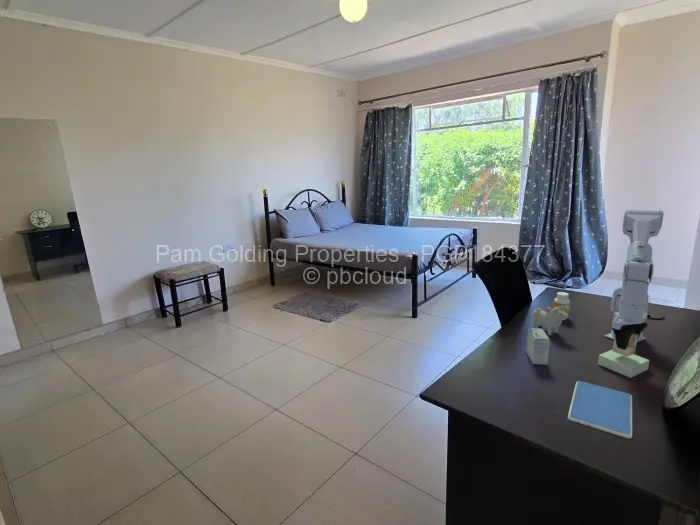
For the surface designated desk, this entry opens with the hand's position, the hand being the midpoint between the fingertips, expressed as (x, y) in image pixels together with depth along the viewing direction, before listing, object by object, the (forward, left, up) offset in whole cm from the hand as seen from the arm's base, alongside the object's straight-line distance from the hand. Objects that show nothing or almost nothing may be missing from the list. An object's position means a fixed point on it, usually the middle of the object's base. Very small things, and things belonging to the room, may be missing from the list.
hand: (625, 346), depth 110 cm
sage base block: (0, 0, -7) cm, 7 cm away
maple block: (0, 0, -2) cm, 2 cm away
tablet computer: (+25, +8, -7) cm, 27 cm away
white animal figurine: (-4, -27, -7) cm, 28 cm away
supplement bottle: (-20, -33, -7) cm, 39 cm away
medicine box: (+17, -16, -7) cm, 24 cm away
